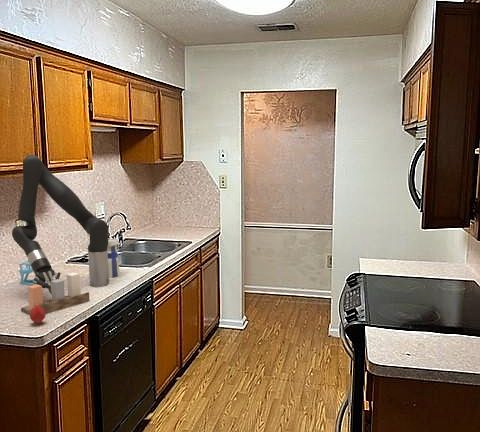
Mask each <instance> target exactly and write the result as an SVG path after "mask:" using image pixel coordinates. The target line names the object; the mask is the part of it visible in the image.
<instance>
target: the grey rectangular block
mask: <svg viewBox="0 0 480 432" xmlns="http://www.w3.org/2000/svg"><path fill="white" fill-rule="evenodd" d="M50 282H51V294H50V296H51V300H52V302H55V301H58V300H62V299H65V296H66V294H65V293H66V292H65V291H66V290H65V280H63V279H60V278H59V279H57V280H55V279H54V280H53V281H50Z"/></svg>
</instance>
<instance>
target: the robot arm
mask: <svg viewBox="0 0 480 432" xmlns="http://www.w3.org/2000/svg"><path fill="white" fill-rule="evenodd" d="M28 155H29V156H27V157H26V158H25V159H24V160H23V171H22V177H23V179H22V190H21V194H20V199H19V204H18V213H17V219H18V220H19V221H21V222H25V223H26V225H18V226H17V225H16V226H14V227H13V228H12V231H11V237H12V239H13V241H15V243H16V244H17V245H18V246H19V247H20V248H21V250H22V251H24V253H25V256H26V258H27V261H29V264H30V265H31V266H30V268H32V269H33V273H34V275H35V276H34V277H33V279H32V280H33V281H32V283H34V285H36V284H38V285H40V286H42V290H43V289H44V290H45V289H47V290H48V292H49V294H50V295H51V282H50V281H53V280H57V279H60V277H61V274H62V273H61V272H56V271H55V270H54V269H53V268H52V265H51V263H50V261H49V259H48V258H47V255H46V253H45V252H44V250H43V248H42V247H41V244H40V243H39V241H37V240H35V239H36V237H37V236H38V229H37V225H36V224H37V223H36V222H37V221H36V209H37V208H36V207H37V200H38V199H37V197H38V190H39V189H38V187H39V186H41V187H42V189H43V190H44V192H46V194H47V195H48V196H49V197H50V198H51V200H52V201H53V202H54V203H56V205H58V206H59V208H61V209H62V210H63V211H64V212H65V213H67V214H68V215H69V216H71V217H72V218H73V219H74V220H76V222H77V223H78V224H79V225H80V226H81V227H82V229H83V230H84V231H85V232H86V233H87V234H88V235H89V244H88V245H87V258H88V275H89V286H90V287H96V288H98V287H99V288H100V287H105V286H108V285H109V284H110V278H109V269H108V253H107V246H108V239H109V228H108V224H107V222H106V221H105V220H103V219H101V218H99V217H97V216H96V215H94V214H93V213H92V212H91V211H89V210H88V209H87V208H86V206H85V205H84V204H83V202H82V201H81V199H80V198H79V196H78V195H77V194H76V193H75V192H74V191H73V190H72V189H71V188H70V187H69V186H67V184H65V182H63V181H62V180H61V179H59V178H58V177H57V176H55V175H54V174H53V173H52V172H51V171H50V170H49V168H48V167H46V165H45V164H44V163H43V161H42V159H41V158H39V157H38V156H37V155H34V154H28Z"/></svg>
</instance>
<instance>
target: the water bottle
mask: <svg viewBox="0 0 480 432" xmlns="http://www.w3.org/2000/svg"><path fill="white" fill-rule="evenodd" d="M118 244H120V241H119V239H118V238H108V246H107V253H108V269H109V279H112V278H115V279H116V278H119V277H120V276H121V273H120V260H119V256H118V252H119V250H118V246H117V245H118Z"/></svg>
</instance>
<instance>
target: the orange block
mask: <svg viewBox="0 0 480 432" xmlns="http://www.w3.org/2000/svg"><path fill="white" fill-rule="evenodd" d="M27 293H28V294H27V295H28V306H29V309H30V310H32V308H33V307H35V306H36V305H37V304H38V305H39V306H40V305H43V302H44V297H43V288H42V286H40V285H38V284H34V285H32V286H31V285H27Z"/></svg>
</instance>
